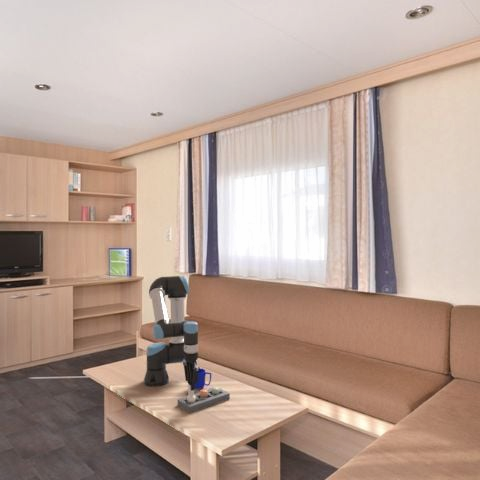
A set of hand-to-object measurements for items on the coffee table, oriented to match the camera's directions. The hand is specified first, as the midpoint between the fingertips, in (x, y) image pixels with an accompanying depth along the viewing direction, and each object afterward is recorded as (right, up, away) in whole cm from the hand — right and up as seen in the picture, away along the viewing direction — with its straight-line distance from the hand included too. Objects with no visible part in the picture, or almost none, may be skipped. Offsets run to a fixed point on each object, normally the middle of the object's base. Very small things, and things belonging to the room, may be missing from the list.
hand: (191, 395), depth 207 cm
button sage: (+12, -3, +10) cm, 16 cm away
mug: (+3, -5, +25) cm, 25 cm away
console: (+6, -6, +5) cm, 10 cm away
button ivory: (0, -3, 0) cm, 3 cm away
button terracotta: (+6, -3, +5) cm, 8 cm away
